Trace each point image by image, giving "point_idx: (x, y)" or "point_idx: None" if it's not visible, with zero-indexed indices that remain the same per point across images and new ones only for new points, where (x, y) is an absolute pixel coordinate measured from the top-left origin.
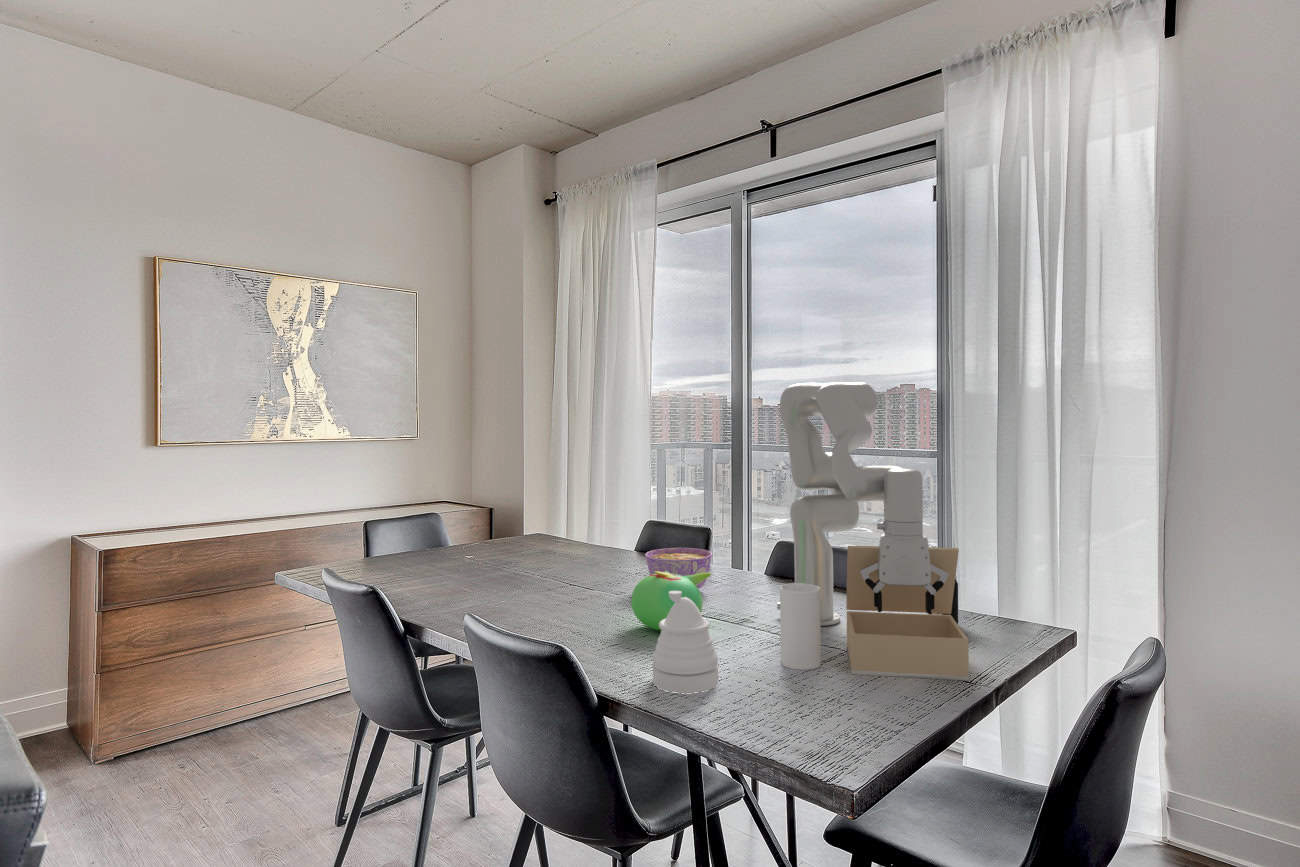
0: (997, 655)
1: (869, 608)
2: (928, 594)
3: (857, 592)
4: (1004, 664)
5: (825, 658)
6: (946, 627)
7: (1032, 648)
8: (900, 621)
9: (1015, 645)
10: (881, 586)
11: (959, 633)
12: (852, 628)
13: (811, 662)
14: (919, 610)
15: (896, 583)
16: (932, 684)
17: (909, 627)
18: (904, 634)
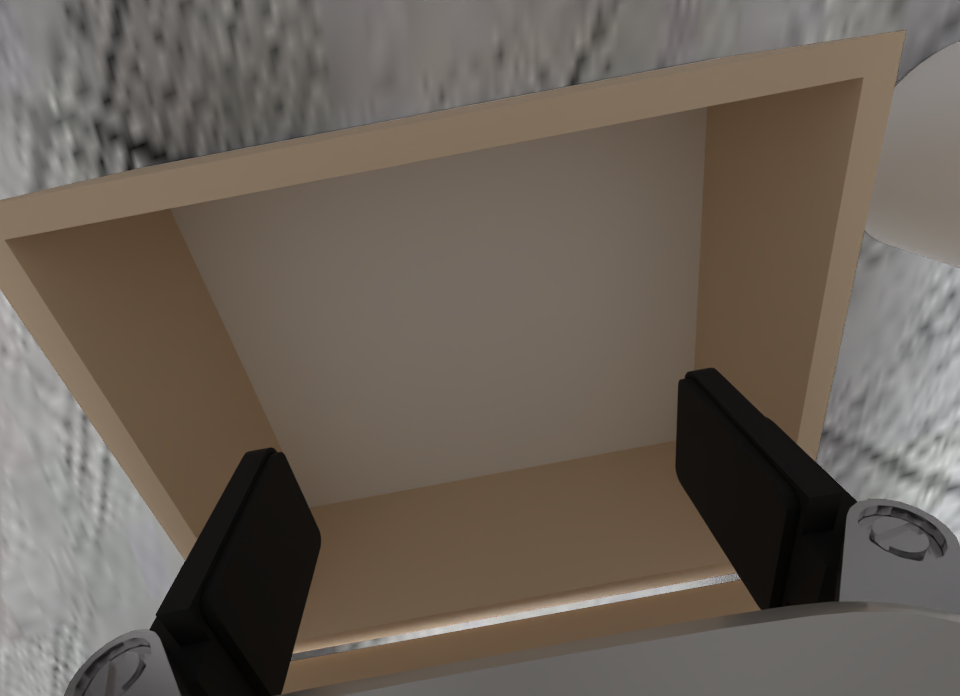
0: (132, 527)
1: (682, 599)
2: (200, 627)
3: None
4: (72, 444)
5: None
6: None
7: (45, 625)
8: (504, 565)
9: (109, 633)
10: (871, 593)
11: (90, 368)
12: (846, 225)
13: (951, 64)
14: (410, 648)
15: (691, 653)
16: (298, 33)
17: (459, 548)
18: (480, 517)
